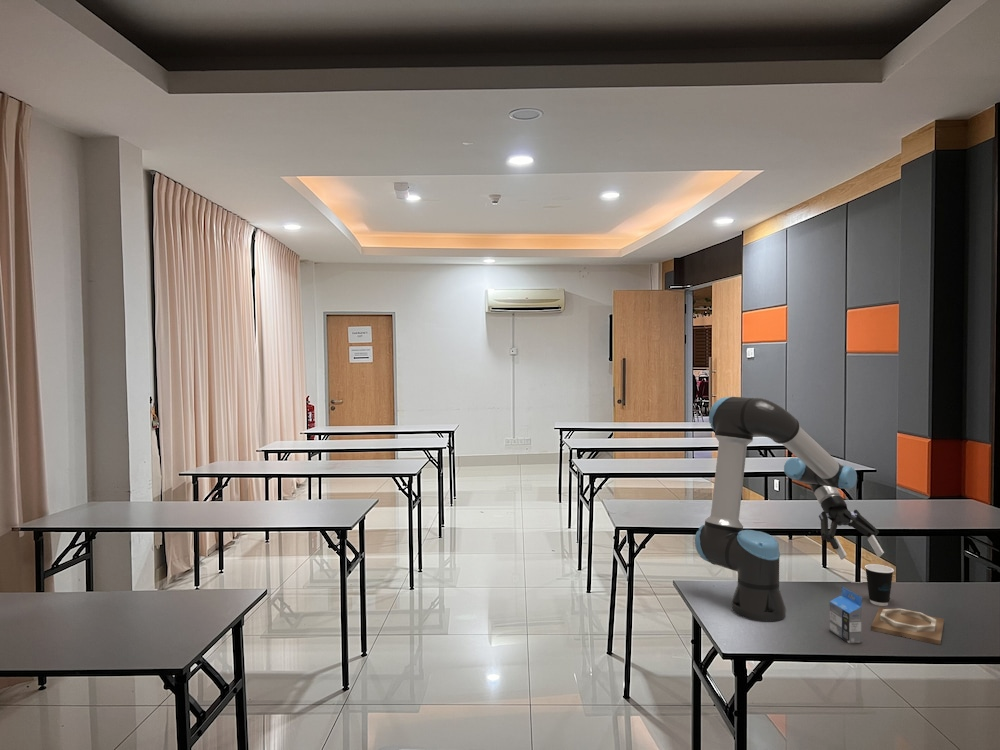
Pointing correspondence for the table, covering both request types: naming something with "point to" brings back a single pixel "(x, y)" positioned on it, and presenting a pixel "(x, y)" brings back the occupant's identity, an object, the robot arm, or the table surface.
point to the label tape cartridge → (846, 616)
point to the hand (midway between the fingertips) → (862, 556)
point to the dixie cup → (879, 583)
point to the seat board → (908, 624)
